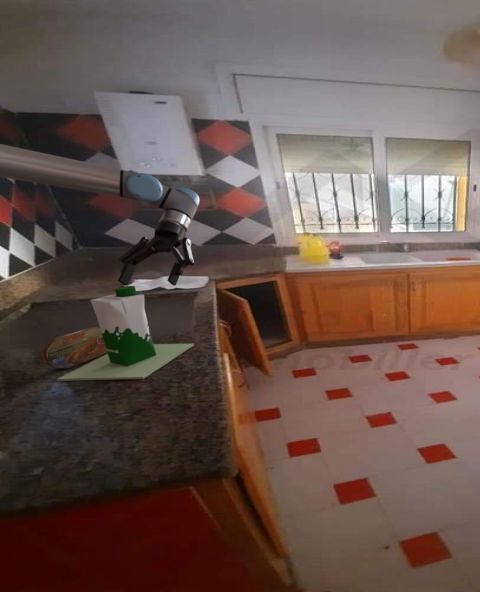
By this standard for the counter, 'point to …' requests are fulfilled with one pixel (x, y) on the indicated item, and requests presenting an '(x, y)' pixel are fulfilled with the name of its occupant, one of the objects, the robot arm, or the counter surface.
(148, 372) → the mat
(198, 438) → the counter surface
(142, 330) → the soya milk
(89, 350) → the tin
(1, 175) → the robot arm
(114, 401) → the counter surface
